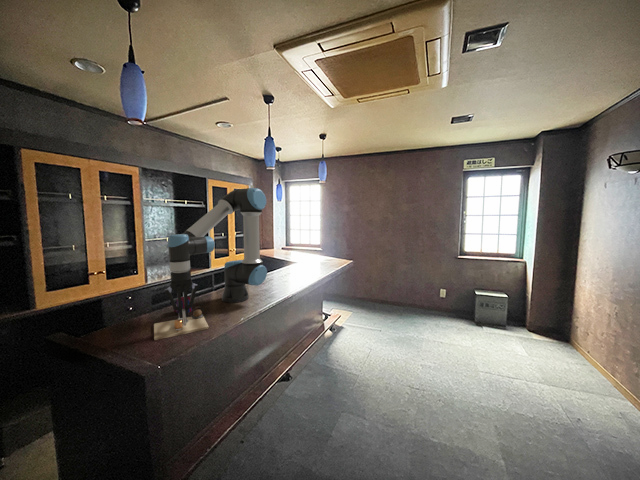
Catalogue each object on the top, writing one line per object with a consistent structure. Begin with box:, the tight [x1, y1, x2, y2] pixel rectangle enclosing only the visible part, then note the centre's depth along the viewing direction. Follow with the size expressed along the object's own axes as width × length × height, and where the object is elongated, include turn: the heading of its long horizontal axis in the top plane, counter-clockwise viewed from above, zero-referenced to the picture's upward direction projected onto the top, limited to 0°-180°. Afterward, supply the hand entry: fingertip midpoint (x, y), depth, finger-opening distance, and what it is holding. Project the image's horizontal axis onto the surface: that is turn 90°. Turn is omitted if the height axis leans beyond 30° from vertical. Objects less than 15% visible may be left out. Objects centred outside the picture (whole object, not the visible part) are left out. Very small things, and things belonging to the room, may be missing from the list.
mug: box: [172, 296, 193, 314], centre depth 129 cm, size 7×10×7 cm
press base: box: [153, 309, 210, 341], centre depth 112 cm, size 20×16×5 cm
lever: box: [174, 316, 188, 330], centre depth 112 cm, size 3×16×4 cm, turn 20°
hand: (184, 324), depth 110 cm, fingers closed
